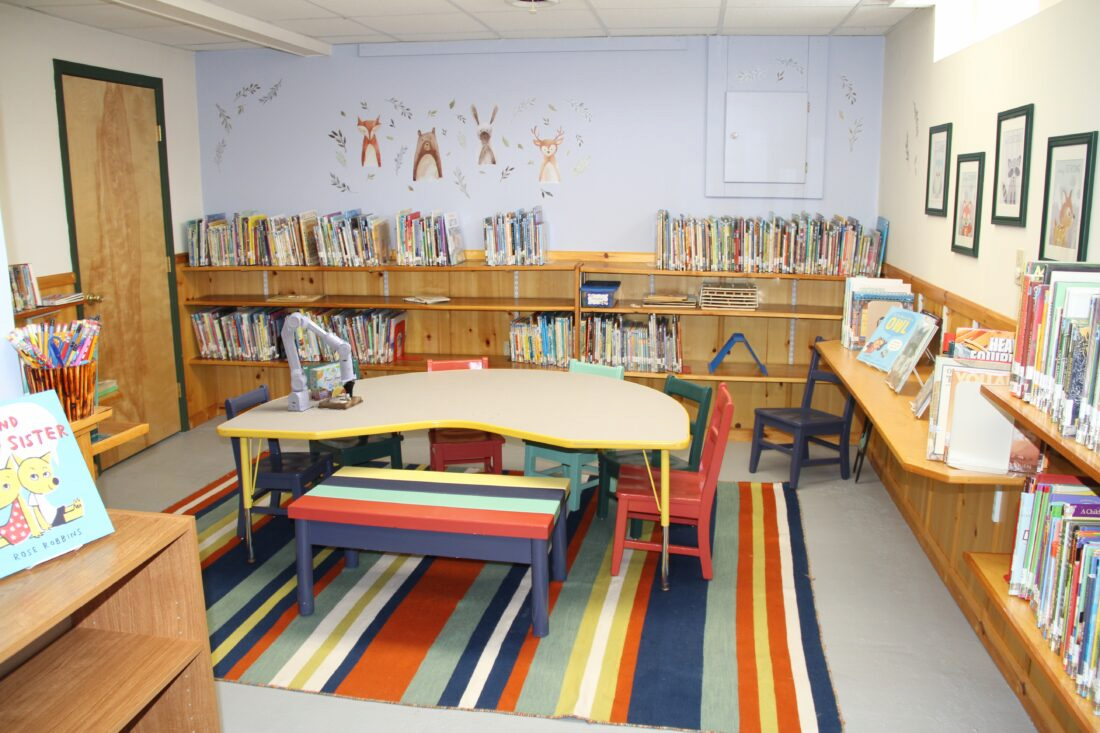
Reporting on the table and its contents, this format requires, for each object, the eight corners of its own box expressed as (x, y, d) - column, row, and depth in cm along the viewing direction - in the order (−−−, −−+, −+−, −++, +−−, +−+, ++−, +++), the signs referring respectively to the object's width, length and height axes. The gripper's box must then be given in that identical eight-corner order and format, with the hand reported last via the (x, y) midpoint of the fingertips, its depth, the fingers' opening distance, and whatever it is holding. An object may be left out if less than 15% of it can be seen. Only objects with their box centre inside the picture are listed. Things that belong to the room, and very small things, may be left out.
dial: (324, 403, 404) (323, 394, 404) (339, 398, 413) (338, 390, 412) (342, 405, 399) (341, 396, 399) (356, 400, 408) (355, 391, 407)
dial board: (345, 409, 397) (345, 403, 397) (317, 408, 402) (317, 402, 402) (363, 401, 411) (362, 396, 411) (335, 400, 416) (335, 394, 415)
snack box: (319, 401, 416) (316, 370, 413) (311, 399, 419) (308, 369, 416) (352, 391, 433) (349, 361, 430) (344, 390, 436) (341, 361, 433)
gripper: (348, 371, 394) (351, 401, 397) (360, 365, 408) (364, 393, 411) (333, 372, 396) (336, 401, 399) (346, 365, 410) (350, 393, 413)
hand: (349, 397), depth 405 cm, fingers closed, pressing on dial
